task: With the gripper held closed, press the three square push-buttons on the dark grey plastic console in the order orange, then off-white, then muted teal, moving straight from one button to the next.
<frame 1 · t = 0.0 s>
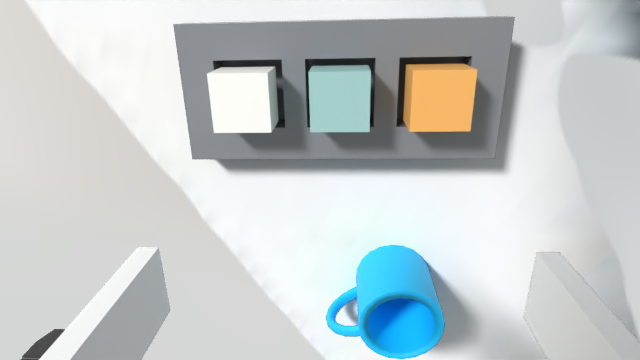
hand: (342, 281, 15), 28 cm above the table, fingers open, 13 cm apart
button orange: (437, 96, 35), point 5 cm above the table, slide at 0.0 cm
button teal: (339, 97, 35), point 5 cm above the table, slide at 0.0 cm
button white: (245, 98, 36), point 5 cm above the table, slide at 0.0 cm
console: (340, 87, 40), on the table
mug: (376, 280, 48), on the table
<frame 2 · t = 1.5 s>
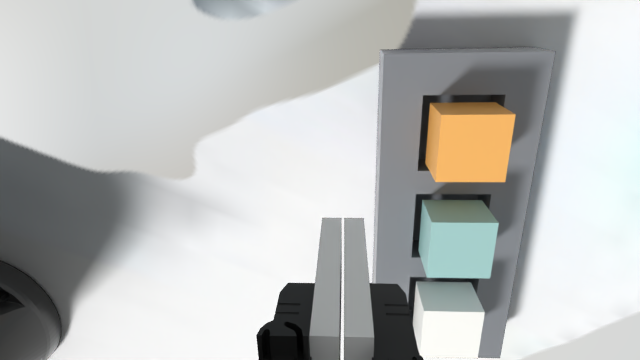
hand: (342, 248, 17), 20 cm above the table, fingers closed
button orange: (466, 141, 30), point 5 cm above the table, slide at 0.0 cm
button teal: (455, 237, 33), point 5 cm above the table, slide at 0.0 cm
button white: (445, 318, 36), point 5 cm above the table, slide at 0.0 cm
console: (440, 208, 38), on the table
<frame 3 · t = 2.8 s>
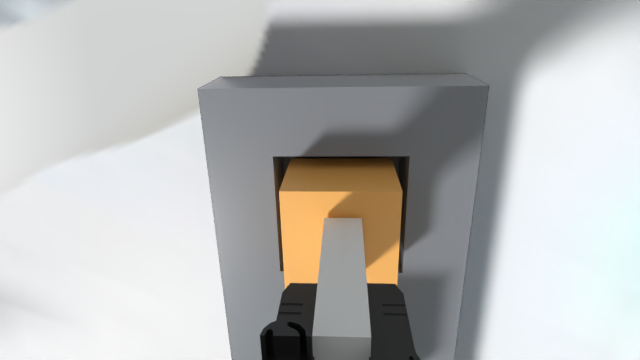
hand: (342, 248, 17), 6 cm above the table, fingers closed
button orange: (340, 222, 19), point 4 cm above the table, slide at 1.3 cm, touching gripper
console: (341, 308, 26), on the table
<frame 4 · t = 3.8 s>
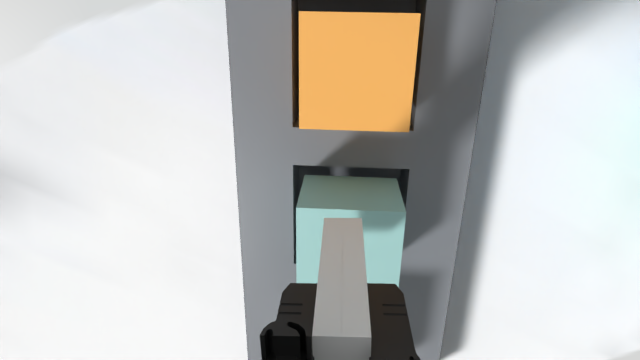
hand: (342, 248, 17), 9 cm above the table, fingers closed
button orange: (355, 68, 19), point 4 cm above the table, slide at 1.3 cm
button teal: (348, 235, 21), point 5 cm above the table, slide at 0.0 cm
console: (348, 193, 26), on the table
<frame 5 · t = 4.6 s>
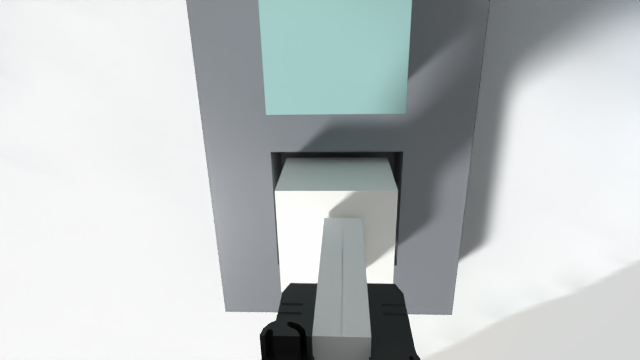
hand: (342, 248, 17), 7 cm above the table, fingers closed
button teal: (335, 37, 15), point 5 cm above the table, slide at 0.0 cm
button white: (336, 221, 19), point 5 cm above the table, slide at 0.8 cm, touching gripper
console: (336, 30, 20), on the table
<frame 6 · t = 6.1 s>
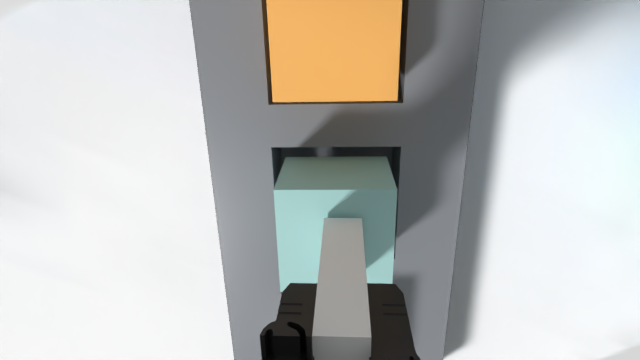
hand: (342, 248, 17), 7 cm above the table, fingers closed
button orange: (334, 33, 17), point 4 cm above the table, slide at 1.3 cm
button teal: (335, 221, 19), point 5 cm above the table, slide at 0.2 cm, touching gripper
console: (336, 179, 24), on the table
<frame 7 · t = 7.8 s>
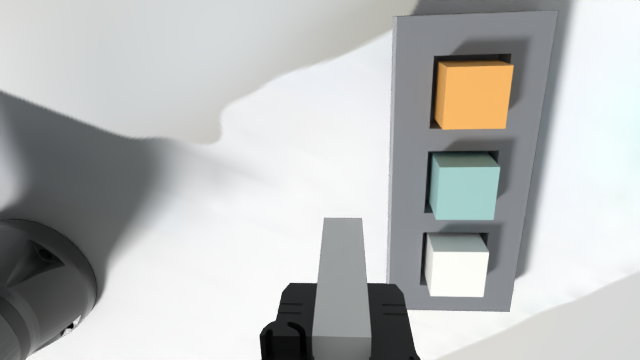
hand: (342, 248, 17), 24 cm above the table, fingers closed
button orange: (470, 93, 34), point 4 cm above the table, slide at 1.3 cm
button teal: (461, 184, 37), point 4 cm above the table, slide at 1.3 cm
button white: (454, 262, 40), point 4 cm above the table, slide at 1.3 cm
console: (451, 169, 41), on the table
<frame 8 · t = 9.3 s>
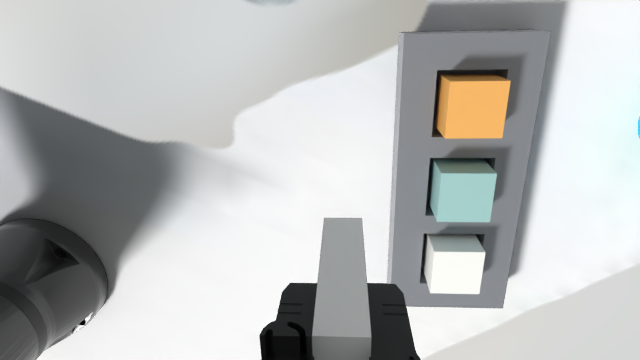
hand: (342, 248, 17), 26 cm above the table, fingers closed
button orange: (470, 105, 37), point 4 cm above the table, slide at 1.3 cm
button teal: (460, 189, 40), point 4 cm above the table, slide at 1.3 cm
button white: (452, 261, 43), point 4 cm above the table, slide at 1.3 cm
console: (450, 174, 43), on the table
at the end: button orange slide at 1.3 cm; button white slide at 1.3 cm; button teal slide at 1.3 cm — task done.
